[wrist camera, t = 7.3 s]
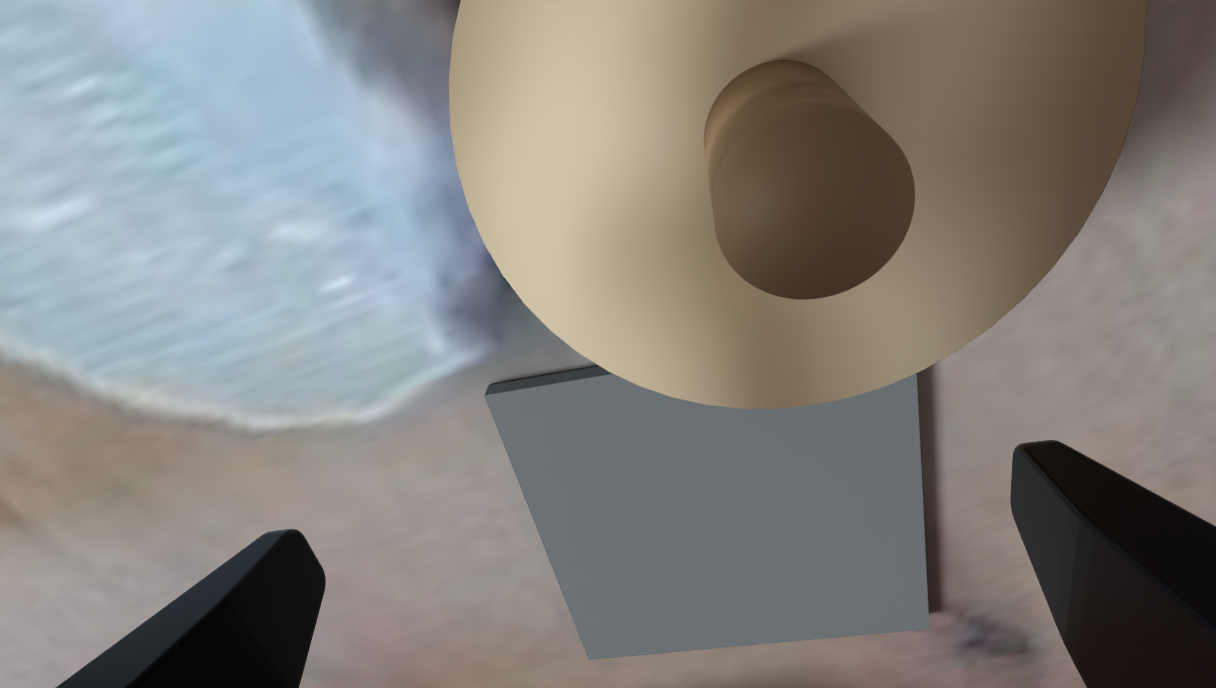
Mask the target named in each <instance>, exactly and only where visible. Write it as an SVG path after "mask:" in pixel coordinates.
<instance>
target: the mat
mask: <svg viewBox="0 0 1216 688" xmlns="http://www.w3.org/2000/svg"><path fill="white" fill-rule="evenodd" d="M484 396H485V398H486V401H487V403H488V406H489V408H490V411H491V413H492V416H493V418H494V421H495V423H496V426H497V429H498V431H499V434H500V436H501V439H502V441H503V444H504V446H505V449H506V451H507V454H508V456H509V459H510V461H511V464H512V466H513V469H514V472H515V474H516V477H517V479H518V482H519V484H520V487H521V489H522V492H523V494H524V497H525V499H526V502H527V504H528V507H529V509H530V512H531V515H532V517H533V520H534V522H535V525H536V527H537V530H538V532H539V535H540V537H541V540H542V542H543V545H544V547H545V550H546V552H547V555H548V558H549V560H550V563H551V565H552V568H553V570H554V573H555V575H556V578H557V580H558V583H559V585H560V588H561V590H562V593H563V595H564V598H565V601H566V603H567V606H568V608H569V611H570V613H571V616H572V618H573V621H574V623H575V626H576V628H577V631H578V633H579V636H580V638H581V641H582V644H583V646H584V649H585V651H586V654H587V656H588V659H589V660H591V659H602V658H613V657H624V656H635V655H646V654H657V653H668V652H679V651H690V650H701V649H712V648H723V647H734V646H745V645H756V644H768V643H779V642H790V641H801V640H812V639H823V638H834V637H845V636H856V635H867V634H878V633H889V632H900V631H911V630H922V629H929V612H928V591H927V571H926V551H925V531H924V511H923V491H922V470H921V450H920V430H919V410H918V390H917V373H915V374H913V375H911V376H908V377H906V378H904V379H902V380H899V381H897V382H895V383H892V384H890V385H888V386H885V387H882V388H879V389H876V390H872V391H869V392H866V393H863V394H860V395H857V396H854V397H850V398H846V399H841V400H836V401H831V402H826V403H822V404H817V405H810V406H800V407H791V408H781V409H739V408H730V407H721V406H712V405H705V404H700V403H696V402H691V401H687V400H682V399H678V398H673V397H670V396H667V395H664V394H661V393H658V392H655V391H653V390H650V389H647V388H644V387H641V386H638V385H636V384H634V383H632V382H630V381H628V380H626V379H624V378H621V377H619V376H617V375H615V374H613V373H611V372H609V371H607V370H605V369H604V368H602V367H601V366H598V367H592V368H586V369H580V370H574V371H568V372H563V373H557V374H551V375H545V376H539V377H533V378H527V379H522V380H516V381H510V382H504V383H498V384H492V385H489V386H488V388H487V390H486V393H485V395H484Z"/></svg>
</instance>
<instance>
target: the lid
mask: <svg viewBox="0 0 1216 688" xmlns="http://www.w3.org/2000/svg"><path fill="white" fill-rule="evenodd" d="M1145 23H1146V0H461V2H460V7H459V11H458V16H457V20H456V25H455V29H454V34H453V42H452V53H451V63H450V74H449V104H450V128H451V134H452V140H453V146H454V153H455V159H456V165H457V170H458V173H459V177H460V180H461V184H462V187H463V190H464V194H465V197H466V201H467V204H468V207H469V210H470V212H471V214H472V217H473V219H474V221H475V224H476V226H477V228H478V231H479V233H480V235H481V238H482V240H483V242H484V244H485V246H486V247H487V249H488V251H489V252H490V254H491V256H492V258H493V259H494V261H495V263H496V264H497V266H498V268H499V270H500V271H501V273H502V275H503V276H504V277H505V279H506V280H507V281H508V283H509V284H510V285H511V287H512V288H513V289H514V290H515V292H516V293H517V294H518V296H519V297H520V298H521V300H522V301H523V302H524V304H525V305H526V306H527V307H528V308H529V309H530V310H531V311H532V312H533V313H534V314H535V315H536V316H537V317H538V318H539V319H540V320H541V321H542V322H543V323H544V324H545V325H546V326H547V327H548V328H549V329H550V330H551V331H552V332H553V333H555V334H556V335H557V336H558V337H559V338H561V339H562V340H563V341H564V342H566V343H567V344H568V345H569V346H571V347H572V348H573V349H574V350H576V351H577V352H578V353H580V354H581V355H583V356H585V357H586V358H588V359H589V360H591V361H593V362H594V363H596V364H597V365H599V366H601V367H602V368H604V369H605V370H607V371H609V372H611V373H613V374H615V375H617V376H619V377H621V378H624V379H626V380H628V381H630V382H632V383H634V384H636V385H638V386H641V387H644V388H647V389H650V390H653V391H655V392H658V393H661V394H664V395H667V396H670V397H673V398H678V399H682V400H687V401H691V402H696V403H700V404H705V405H712V406H721V407H730V408H739V409H781V408H791V407H800V406H810V405H817V404H822V403H826V402H831V401H836V400H841V399H846V398H850V397H854V396H857V395H860V394H863V393H866V392H869V391H872V390H876V389H879V388H882V387H885V386H888V385H890V384H892V383H895V382H897V381H899V380H902V379H904V378H906V377H908V376H911V375H913V374H915V373H918V372H920V371H922V370H924V369H926V368H928V367H929V366H931V365H933V364H935V363H937V362H938V361H940V360H942V359H944V358H946V357H947V356H949V355H951V354H953V353H954V352H956V351H958V350H959V349H961V348H962V347H964V346H965V345H966V344H968V343H969V342H971V341H972V340H974V339H975V338H976V337H978V336H979V335H981V334H982V333H984V332H985V331H986V330H988V329H989V328H991V327H992V326H993V325H994V324H995V323H997V322H998V321H999V320H1000V319H1001V318H1002V317H1003V316H1005V315H1006V314H1007V313H1008V312H1009V311H1010V310H1011V309H1013V308H1014V307H1015V306H1016V305H1017V304H1018V303H1019V302H1021V301H1022V300H1023V299H1024V298H1025V297H1026V296H1027V295H1028V294H1029V293H1030V291H1031V290H1032V289H1033V288H1034V287H1035V286H1036V285H1037V284H1038V283H1039V282H1040V281H1041V280H1042V279H1043V277H1044V276H1045V275H1046V274H1047V273H1048V272H1049V271H1050V270H1051V269H1052V268H1053V267H1054V265H1055V264H1056V263H1057V261H1058V260H1059V259H1060V257H1061V256H1062V255H1063V253H1064V252H1065V251H1066V249H1067V248H1068V247H1069V245H1070V244H1071V243H1072V241H1073V240H1074V239H1075V237H1076V236H1077V235H1078V233H1079V232H1080V230H1081V229H1082V227H1083V225H1084V224H1085V222H1086V220H1087V218H1088V217H1089V215H1090V213H1091V212H1092V210H1093V208H1094V207H1095V205H1096V203H1097V201H1098V200H1099V198H1100V196H1101V195H1102V193H1103V191H1104V189H1105V187H1106V184H1107V182H1108V180H1109V178H1110V175H1111V173H1112V171H1113V168H1114V166H1115V164H1116V162H1117V159H1118V157H1119V155H1120V153H1121V150H1122V148H1123V145H1124V141H1125V138H1126V135H1127V131H1128V128H1129V125H1130V122H1131V118H1132V115H1133V112H1134V108H1135V105H1136V102H1137V96H1138V90H1139V84H1140V78H1141V72H1142V66H1143V60H1144V54H1145Z"/></svg>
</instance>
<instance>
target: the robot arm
mask: <svg viewBox="0 0 1216 688" xmlns="http://www.w3.org/2000/svg"><path fill="white" fill-rule="evenodd" d="M1010 501H1011V509H1012V513H1013V517H1014V520H1015V523H1016V525H1017V528H1018V530H1019V533H1020V535H1021V538H1022V540H1023V543H1024V545H1025V548H1026V550H1027V553H1028V555H1029V558H1030V560H1031V563H1032V565H1033V568H1034V570H1035V573H1036V575H1037V578H1038V580H1039V583H1040V586H1041V588H1042V591H1043V593H1044V596H1045V598H1046V601H1047V603H1048V606H1049V608H1050V611H1051V613H1052V616H1053V618H1054V621H1055V623H1056V626H1057V628H1058V630H1059V633H1060V635H1061V637H1062V640H1063V642H1064V644H1065V646H1066V648H1067V650H1068V652H1069V654H1070V656H1071V658H1072V660H1073V662H1074V664H1075V666H1076V668H1077V670H1078V672H1079V674H1080V676H1081V677H1082V679H1083V681H1084V683H1085V685H1086V687H1087V688H1216V526H1214V525H1212V524H1210V523H1209V522H1207V521H1205V520H1203V519H1201V518H1199V517H1198V516H1196V515H1194V514H1192V513H1190V512H1188V511H1187V510H1185V509H1183V508H1181V507H1179V506H1177V505H1176V504H1174V503H1172V502H1170V501H1168V500H1166V499H1165V498H1163V497H1161V496H1159V495H1157V494H1155V493H1153V492H1152V491H1150V490H1148V489H1146V488H1144V487H1142V486H1141V485H1139V484H1137V483H1135V482H1133V481H1131V480H1130V479H1128V478H1126V477H1124V476H1122V475H1120V474H1119V473H1117V472H1115V471H1113V470H1111V469H1109V468H1107V467H1106V466H1104V465H1102V464H1100V463H1098V462H1096V461H1095V460H1093V459H1091V458H1089V457H1087V456H1085V455H1084V454H1082V453H1080V452H1078V451H1076V450H1074V449H1073V448H1071V447H1069V446H1067V445H1065V444H1063V443H1061V442H1059V441H1055V440H1046V441H1038V442H1029V443H1022V444H1019V445H1018V446H1017V447H1015V450H1014V453H1013V461H1012V479H1011V496H1010ZM325 584H326V580H325V573H324V570H323V568H322V566H321V564H320V563H319V561H318V559H317V558H316V556H315V554H314V552H313V551H312V549H311V547H310V545H309V544H308V542H307V540H306V538H305V537H304V535H303V534H302V533H301V532H299V531H298V530H295V529H286V530H278V531H271V532H267V533H265V534H263V535H262V536H260V537H259V538H258V539H256V540H255V541H254V542H252V543H251V544H250V545H248V546H247V547H246V548H244V549H243V550H242V551H240V552H239V553H237V554H236V555H235V556H233V557H232V558H231V559H229V560H228V561H227V562H225V563H224V564H223V565H221V566H220V567H219V568H217V569H216V570H214V571H213V572H212V573H210V574H209V575H208V576H206V577H205V578H204V579H202V580H201V581H200V582H198V583H197V584H195V585H194V586H193V587H191V588H190V589H189V590H187V591H186V592H185V593H183V594H182V595H181V596H179V597H178V598H177V599H175V600H174V601H172V602H171V603H170V604H168V605H167V606H166V607H164V608H163V609H162V610H160V611H159V612H158V613H156V614H155V615H154V616H152V617H151V618H149V619H148V620H147V621H145V622H144V623H143V624H141V625H140V626H139V627H137V628H136V629H135V630H133V631H132V632H131V633H129V634H128V635H126V636H125V637H124V638H122V639H121V640H120V641H118V642H117V643H116V644H114V645H113V646H112V647H110V648H109V649H107V650H106V651H105V652H103V653H102V654H101V655H99V656H98V657H97V658H95V659H94V660H93V661H91V662H90V663H89V664H87V665H86V666H84V667H83V668H82V669H80V670H79V671H78V672H76V673H75V674H74V675H72V676H71V677H70V678H68V679H67V680H66V681H64V682H63V683H61V684H60V685H59V686H57V687H56V688H299V685H300V682H301V678H302V674H303V671H304V667H305V663H306V659H307V656H308V652H309V648H310V644H311V640H312V637H313V633H314V629H315V625H316V622H317V618H318V614H319V610H320V606H321V603H322V599H323V595H324V591H325Z"/></svg>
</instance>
